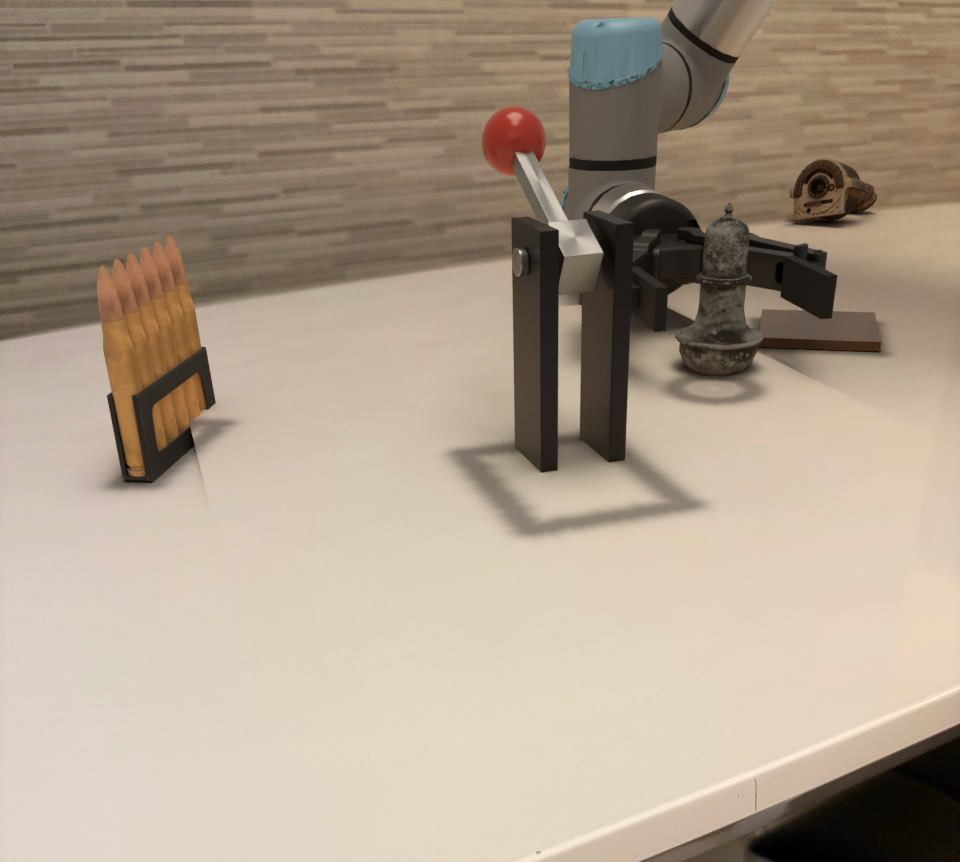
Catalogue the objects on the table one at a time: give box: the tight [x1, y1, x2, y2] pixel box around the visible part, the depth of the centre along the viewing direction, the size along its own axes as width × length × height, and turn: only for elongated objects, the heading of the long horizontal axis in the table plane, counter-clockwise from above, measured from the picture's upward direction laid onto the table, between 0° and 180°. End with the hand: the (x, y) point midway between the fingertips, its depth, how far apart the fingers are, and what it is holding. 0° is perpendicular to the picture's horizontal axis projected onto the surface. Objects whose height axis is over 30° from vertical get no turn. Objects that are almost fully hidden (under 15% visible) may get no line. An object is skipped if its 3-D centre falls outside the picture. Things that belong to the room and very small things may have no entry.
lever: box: [481, 105, 604, 296], centre depth 58 cm, size 13×4×4 cm, turn 18°
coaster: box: [757, 308, 883, 352], centre depth 86 cm, size 9×9×1 cm
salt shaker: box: [674, 202, 763, 376], centre depth 72 cm, size 6×6×12 cm
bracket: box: [510, 210, 634, 474], centre depth 58 cm, size 12×9×14 cm
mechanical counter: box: [789, 157, 878, 222], centre depth 128 cm, size 7×13×10 cm
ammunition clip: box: [96, 234, 216, 482], centre depth 64 cm, size 11×2×12 cm, turn 170°
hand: (746, 303), depth 68 cm, fingers open, 10 cm apart
